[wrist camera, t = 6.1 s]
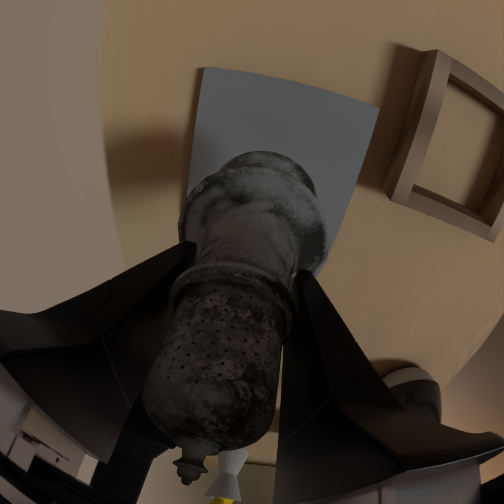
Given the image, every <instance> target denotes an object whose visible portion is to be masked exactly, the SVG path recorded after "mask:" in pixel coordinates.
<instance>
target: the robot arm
mask: <svg viewBox="0 0 504 504" xmlns="http://www.w3.org/2000/svg"><path fill="white" fill-rule="evenodd" d="M196 253H197V244H196V243H195V242H191V241H183V242H181V243H179V244H177V245H175V246H173V247H171V248H169V249H167V250H165V251H163V252H161V253H159V254H157V255H155V256H153V257H151V258H149V259H148V260H146V261H144V262H142V263H140V264H138V265H136V266H134V267H132V268H130V269H128V270H127V271H125V272H123V273H121V274H119V275H117V276H115V277H113V278H112V279H111V280H108V281H106V282H104V283H102V284H100V285H98V286H97V287H95V288H93V289H91V290H89V291H86V292H85V293H82V294H80V295H78V296H76V297H73V298H71V299H69V300H67V301H64V302H62V303H60V304H57V305H55V306H53V307H51V308H49V309H46V310H44V311H41V312H38V313H32V314H24V313H17V312H11V311H5V310H0V504H136V503H137V500H138V497H139V495H140V492H141V489H142V487H143V484H144V481H145V479H146V476H147V473H148V471H149V468H150V466H151V463H152V461H153V459H154V458H156V457H157V456H159V455H160V454H162V453H163V452H165V451H166V450H168V449H169V448H170V449H174V448H175V447H176V445H175V444H174V443H173V441H172V438H171V437H170V436H168V435H166V434H165V433H163V432H162V431H161V430H160V429H158V427H157V426H156V425H155V424H154V423H153V421H152V420H151V419H150V418H149V416H148V414H147V413H146V410H145V407H144V404H143V400H142V393H143V386H144V381H145V378H146V376H147V374H148V371H149V369H150V367H151V364H152V362H153V360H154V358H155V355H156V353H157V351H158V349H159V347H160V344H161V342H162V340H163V338H164V336H165V333H166V331H167V329H168V327H169V325H170V323H171V320H172V318H173V316H172V314H171V312H170V308H169V302H168V299H169V294H170V289H171V287H172V285H173V284H174V282H175V281H176V279H177V278H178V276H179V275H181V274H182V273H184V272H185V271H186V270H188V269H189V268H191V267H194V266H195V264H196ZM290 291H291V293H292V295H293V297H294V299H295V301H296V303H297V305H298V311H299V323H298V326H297V329H296V332H295V333H294V335H293V336H292V337H291V339H290V340H289V341H288V342H287V343H285V344H284V345H283V364H282V385H281V403H280V420H279V435H278V449H277V460H276V473H275V484H274V495H273V504H504V474H502V475H500V476H498V477H496V478H494V479H492V480H490V481H488V482H486V483H484V484H481V478H480V468H479V465H480V464H482V463H484V462H486V461H488V460H489V459H491V458H493V457H495V456H496V455H498V454H500V453H501V452H503V451H504V438H503V437H501V436H500V435H498V434H496V433H493V432H490V431H489V432H484V433H478V434H477V433H468V432H464V431H460V430H457V429H454V428H451V427H448V426H445V425H443V424H440V423H437V422H434V421H431V420H429V419H426V418H423V417H421V416H418V415H416V414H413V413H412V412H410V411H409V410H407V409H406V408H405V407H404V406H403V405H402V404H401V403H400V402H399V401H398V399H397V398H396V397H395V395H394V394H393V393H392V391H391V390H390V389H389V387H388V386H387V385H386V383H385V382H384V381H383V379H382V378H381V377H380V375H379V374H378V373H377V371H376V370H375V369H374V367H373V366H372V364H371V363H370V362H369V360H368V359H367V357H366V356H365V354H364V353H363V351H362V350H361V348H360V346H359V345H358V343H357V342H356V341H355V339H354V337H353V335H352V334H351V332H350V331H349V329H348V328H347V326H346V324H345V323H344V321H343V320H342V318H341V317H340V315H339V313H338V312H337V310H336V309H335V307H334V306H333V304H332V303H331V301H330V300H329V298H328V297H327V295H326V294H325V292H324V290H323V289H322V287H321V286H320V284H319V283H318V281H317V280H316V278H315V277H314V275H313V274H312V272H311V271H309V270H305V269H298V271H297V273H296V276H295V279H294V281H293V284H292V287H291V290H290ZM354 341H355V342H354ZM85 454H87V455H89V456H91V457H93V458H95V459H97V460H99V461H98V463H97V466H96V468H95V471H94V474H93V476H92V479H91V482H90V485H88V484H86V483H84V482H83V481H81V480H79V479H77V478H76V476H77V473H78V471H79V468H80V466H81V463H82V461H83V458H84V456H85Z"/></svg>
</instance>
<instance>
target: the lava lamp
mask: <svg viewBox="0 0 504 504" xmlns="http://www.w3.org/2000/svg"><path fill="white" fill-rule="evenodd" d="M249 453H250V452H249V451H247V450H245V449H242V448H240V449H237V450H232V451H222V452H220V453H219V454H218V461H219V470H220V474H219V475H218V477H217V478H216V480H215V481H214V482H213V484H212V485H211V487H210V488H209V490H208V491H207V492H206V494H205V496H208V497H211V498H215V500H213V501H211V503H210V504H231V503H232V502H241V497H240V492H239V487H238V482H237V477H236V476H237V474H238V473H239V470H240V469H241V467H242V466H243V464H244V462H245V460H246V459H247V457H248V455H249Z"/></svg>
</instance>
